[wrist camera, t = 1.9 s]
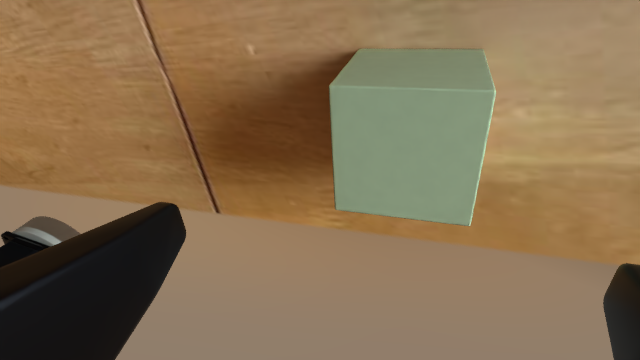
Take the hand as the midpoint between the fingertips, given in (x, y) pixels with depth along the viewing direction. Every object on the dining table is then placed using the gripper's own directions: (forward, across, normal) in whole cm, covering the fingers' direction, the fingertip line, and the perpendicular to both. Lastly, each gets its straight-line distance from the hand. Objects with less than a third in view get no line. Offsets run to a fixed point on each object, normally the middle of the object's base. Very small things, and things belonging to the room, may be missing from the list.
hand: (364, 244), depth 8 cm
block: (+8, 0, 0) cm, 9 cm away
